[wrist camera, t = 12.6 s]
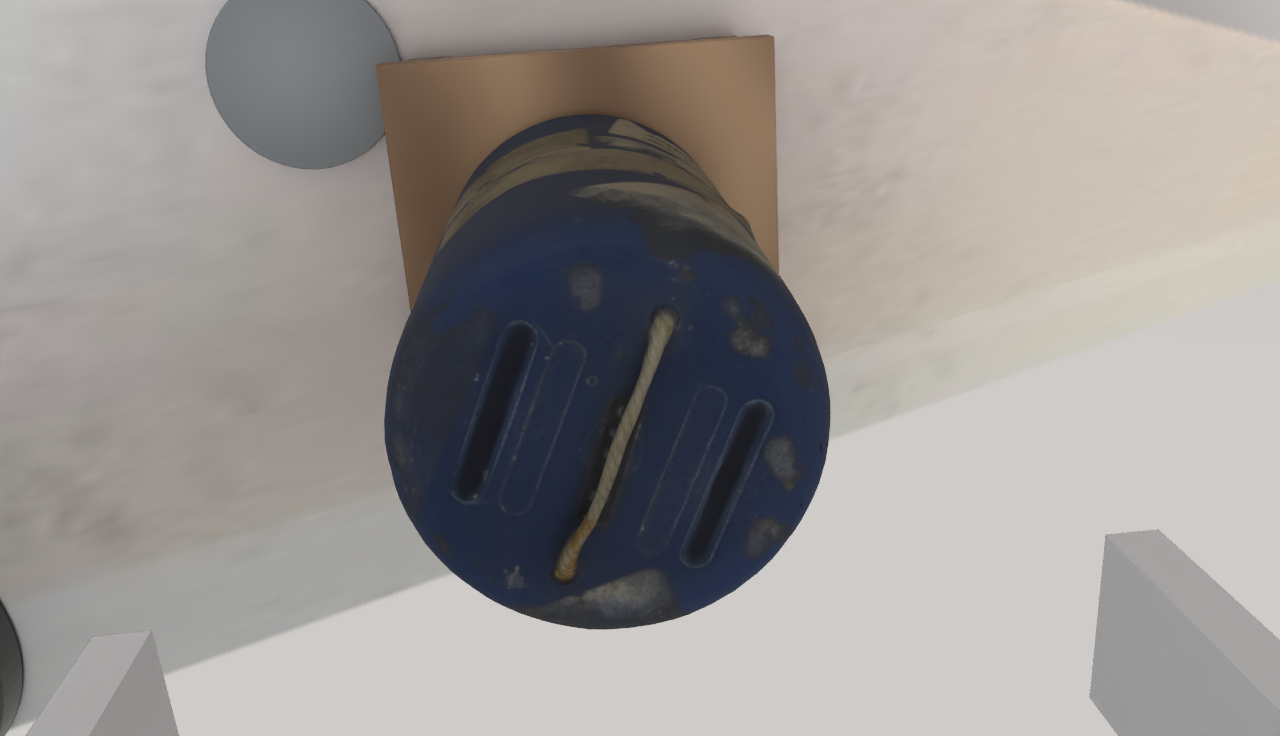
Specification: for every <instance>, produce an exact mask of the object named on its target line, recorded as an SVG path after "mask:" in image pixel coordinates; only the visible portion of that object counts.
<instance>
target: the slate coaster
mask: <svg viewBox="0 0 1280 736" xmlns="http://www.w3.org/2000/svg"><path fill="white" fill-rule="evenodd" d="M396 61H400V58H399V53H398V50H397V47H396V44H395V41H394V39H393V37H392V35H391V33H390V30H389V29H388V27H387V25H386V24H385V22H384V21H383V19H382V18H381V16H380V15H379V14H378V13H377V12H376V10H375V9H374V8H373V7H372V6H371V5H370V4H369V3H368V2H367V1H366V0H229V1H228V2H227V3H226V5H225V6H224V7H223V8H222V10H221V11H220V13H219V14H218V16H217V18H216V19H215V22H214V24H213V26H212V28H211V31H210V34H209V38H208V42H207V48H206V75H207V82H208V86H209V90H210V93H211V96H212V99H213V101H214V104H215V106H216V108H217V110H218V111H219V113H220V115H221V117H222V119H223V120H224V121H225V123H226V124H227V126H228V127H229V128H230V129H231V131H232V132H233V133H234V134H235V135H236V136H237V137H238V138H239V139H240V140H241V141H242V142H243V143H245V144H246V145H247V146H248V147H249V148H251V149H252V150H254V151H255V152H257V153H258V154H260V155H262V156H264V157H266V158H267V159H269V160H272V161H274V162H277V163H279V164H282V165H286V166H290V167H294V168H302V169H323V168H330V167H334V166H338V165H341V164H344V163H346V162H349V161H351V160H353V159H355V158H357V157H358V156H360V155H362V154H363V153H365V152H366V151H367V150H368V149H370V148H371V147H372V146H373V145H374V144H375V143H376V142H377V141H378V140H379V139H380V138H381V137H382V135H383V134H384V133H385V129H384V122H383V115H382V108H381V101H380V94H379V87H378V80H377V73H376V65H377V64H379V63H382V62H396Z"/></svg>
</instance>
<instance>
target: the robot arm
mask: <svg viewBox="0 0 1280 736" xmlns="http://www.w3.org/2000/svg"><path fill="white" fill-rule="evenodd" d="M22 675H23V672H22V661H21V655H20V650H19V647H18V643H17V639H16V637H15V634H14V631H13V629H12V626H11V624H10V622H9V620H8V618H7V616H6V614H5V612H4V611H3V609H2V607H1V606H0V736H5V734H6V733H7V731H8V730H9V728H10V726H11V724H12V722H13V720H14V717H15V715H16V712H17V709H18V706H19V702H20V697H21V692H22ZM1090 699H1091V700H1092V701H1093V703H1094V704H1095V705H1096V707H1097V708H1098V709H1099V711H1100V712H1101V713H1102V715H1103V716H1104V717H1105V719H1106V720H1107V721H1108V723H1109V724H1110V725H1111V727H1112V728H1113V729H1114V731H1115V732H1116V733H1117V735H1118V736H1280V640H1279V639H1278V638H1277V637H1276V636H1275V635H1274V634H1273V633H1271V632H1270V631H1269V630H1268V629H1267V628H1266V627H1265V626H1264V625H1263V624H1262V623H1260V622H1259V621H1258V620H1257V619H1256V618H1255V617H1254V616H1253V615H1252V614H1251V613H1249V612H1248V611H1247V610H1246V609H1245V608H1244V607H1243V606H1242V605H1241V604H1239V602H1237V601H1236V600H1235V599H1234V598H1233V597H1232V596H1231V595H1230V594H1229V593H1228V592H1227V591H1225V590H1224V589H1223V588H1222V587H1221V586H1220V585H1219V584H1218V583H1217V582H1216V581H1214V580H1213V579H1212V578H1211V577H1210V576H1209V575H1208V574H1207V573H1206V572H1205V571H1204V570H1202V569H1201V568H1200V567H1199V566H1198V565H1197V564H1196V563H1195V562H1194V561H1193V560H1191V559H1190V558H1189V557H1188V556H1187V555H1186V554H1185V553H1184V552H1183V551H1182V550H1180V549H1179V548H1178V547H1177V546H1176V545H1175V544H1174V543H1173V542H1172V541H1171V540H1169V539H1168V538H1167V537H1166V536H1165V535H1164V534H1163V533H1162V532H1161V531H1160V530H1148V531H1138V532H1128V533H1118V534H1108V535H1106V536H1105V547H1104V557H1103V567H1102V577H1101V587H1100V597H1099V607H1098V618H1097V628H1096V639H1095V649H1094V658H1093V668H1092V679H1091V689H1090ZM26 736H179V734H178V730H177V727H176V723H175V719H174V715H173V711H172V707H171V704H170V700H169V696H168V692H167V689H166V685H165V680H164V677H163V673H162V669H161V665H160V661H159V657H158V654H157V650H156V646H155V642H154V638H153V634H152V631H151V630H150V631H140V632H130V633H120V634H110V635H100V636H93V637H92V638H91V640H90V641H89V643H88V644H87V645H86V647H85V648H84V650H83V651H82V653H81V654H80V656H79V657H78V659H77V660H76V662H75V663H74V665H73V666H72V668H71V669H70V671H69V672H68V674H67V675H66V677H65V678H64V680H63V681H62V682H61V684H60V685H59V687H58V688H57V690H56V691H55V693H54V694H53V696H52V697H51V699H50V700H49V702H48V703H47V705H46V706H45V708H44V709H43V711H42V712H41V714H40V715H39V717H38V718H37V720H36V721H35V722H34V724H33V725H32V727H31V728H30V730H29V731H28V733H27V734H26Z"/></svg>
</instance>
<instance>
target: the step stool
mask: <svg viewBox="0 0 1280 736" xmlns="http://www.w3.org/2000/svg"><path fill="white" fill-rule="evenodd" d="M376 73H377V80H378V87H379V94H380V101H381V108H382V115H383V122H384V129H385V136H386V143H387V149H388V156H389V163H390V170H391V177H392V184H393V191H394V198H395V205H396V212H397V219H398V226H399V233H400V239H401V246H402V253H403V260H404V267H405V274H406V281H407V288H408V295H409V302H410V309H411V311H412V309H413V307H414V304H415V301H416V299H417V296H418V294H419V291H420V289H421V286H422V284H423V282H424V279H425V277H426V275H427V272H428V269H429V267H430V264H431V262H432V259H433V256H434V254H435V251H436V249H437V247H438V244H439V242H440V240H441V237H442V235H443V232H444V230H445V227H446V225H447V223H448V221H449V219H450V216H451V214H452V212H453V209H454V207H455V205H456V202H457V200H458V198H459V196H460V194H461V192H462V190H463V188H464V187H465V185H466V183H467V181H468V180H469V178H470V177H471V175H472V174H473V172H474V171H475V170H476V168H477V167H478V166H479V165H480V164H481V162H482V161H483V160H484V159H485V158H486V157H487V156H488V155H489V154H490V153H491V152H493V151H494V150H495V149H496V148H497V147H498V146H499V145H501V144H502V143H503V142H505V141H506V140H508V139H509V138H511V137H512V136H514V135H516V134H517V133H519V132H521V131H523V130H525V129H527V128H529V127H531V126H534V125H536V124H539V123H542V122H545V121H548V120H551V119H555V118H559V117H565V116H572V115H587V114H595V115H606V116H613V117H619V118H623V119H627V120H631V121H634V122H637V123H639V124H642V125H644V126H647V127H649V128H651V129H653V130H655V131H657V132H659V133H661V134H662V135H664V136H666V137H667V138H669V139H670V140H671V141H673V142H674V143H676V144H677V145H678V146H679V147H681V148H682V149H683V150H684V151H685V152H686V153H688V154H689V155H690V156H691V158H692V159H693V160H694V161H695V162H696V163H697V164H698V165H699V166H700V167H701V169H702V170H703V171H704V172H705V174H706V175H707V176H708V177H709V179H710V180H711V181H712V182H713V184H714V185H715V187H716V188H717V190H718V191H719V193H720V194H721V195H722V197H723V198H724V200H725V201H726V202H727V204H728V205H729V206H730V207H731V208H733V209H734V210H735V211H737V212H738V213H740V214H741V215H743V216H744V217H745V218H746V219H747V220H748V221H749V224H750V227H751V229H752V232H753V234H754V237H755V240H756V242H757V244H758V246H759V247H760V249H761V250H762V251H763V253H764V254H765V255H766V257H767V258H768V260H769V261H770V262H771V264H772V265H773V267H774V268H775V270H776V271H777V273H778V274H779V266H778V214H777V163H776V112H775V61H774V37H773V36H770V35H757V36H743V37H737V36H732V37H718V38H704V39H694V40H687V41H674V42H660V43H646V44H632V45H618V46H604V47H590V48H577V49H563V50H549V51H535V52H521V53H507V54H493V55H479V56H466V57H452V58H451V57H441V58H427V59H413V60H407V61H396V62H382V63H379V64H377V65H376Z"/></svg>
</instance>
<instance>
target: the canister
mask: <svg viewBox="0 0 1280 736" xmlns="http://www.w3.org/2000/svg"><path fill="white" fill-rule="evenodd" d="M384 425H385V444H386V449H387V455H388V460H389V463H390V467H391V471H392V475H393V479H394V483H395V487H396V490H397V493H398V495H399V498H400V500H401V502H402V505H403V507H404V509H405V511H406V513H407V515H408V516H409V518H410V520H411V521H412V523H413V524H414V526H415V528H416V529H417V531H418V533H419V534H420V536H421V537H422V539H423V541H424V542H425V543H426V545H427V546H428V547H429V548H430V549H431V550H432V552H433V553H434V554H435V555H436V556H437V557H438V558H439V559H440V561H441V562H443V563H444V564H445V565H446V566H447V567H448V568H449V569H450V570H451V571H452V572H453V573H454V574H455V575H457V576H458V577H460V578H461V579H462V580H463V581H465V582H466V583H467V584H469V585H470V586H471V587H473V588H474V589H476V590H477V591H479V592H480V593H482V594H483V595H485V596H486V597H488V598H490V599H491V600H493V601H495V602H497V603H499V604H501V605H503V606H505V607H507V608H510V609H512V610H514V611H517V612H519V613H521V614H524V615H527V616H530V617H533V618H536V619H540V620H543V621H547V622H551V623H555V624H560V625H565V626H570V627H577V628H585V629H618V628H631V627H637V626H645V625H651V624H656V623H660V622H664V621H668V620H673V619H676V618H679V617H682V616H685V615H688V614H691V613H692V612H695V611H697V610H699V609H701V608H704V607H706V606H708V605H710V604H712V603H714V602H716V601H717V600H719V599H721V598H722V597H724V596H726V595H727V594H729V593H731V592H733V591H735V590H736V589H737V588H738V587H740V586H741V585H742V584H743V583H745V582H746V581H747V580H749V579H750V578H751V577H753V576H754V575H755V574H757V573H758V572H759V571H760V570H761V569H762V568H763V567H764V566H765V565H766V564H767V563H768V562H769V561H770V560H771V559H772V558H773V557H774V556H775V555H776V554H777V552H778V551H779V550H780V548H781V547H782V546H783V545H784V543H785V542H786V541H787V539H788V538H789V537H790V536H791V534H792V533H793V532H794V530H795V529H796V527H797V526H798V524H799V523H800V521H801V519H802V517H803V516H804V514H805V512H806V510H807V508H808V506H809V504H810V502H811V500H812V498H813V496H814V494H815V491H816V489H817V487H818V484H819V481H820V478H821V474H822V471H823V467H824V464H825V460H826V454H827V447H828V440H829V429H830V397H829V388H828V383H827V377H826V372H825V368H824V364H823V361H822V358H821V355H820V352H819V349H818V346H817V343H816V340H815V337H814V335H813V332H812V330H811V328H810V326H809V324H808V322H807V320H806V318H805V316H804V314H803V313H802V311H801V309H800V307H799V306H798V304H797V302H796V301H795V299H794V297H793V296H792V294H791V293H790V291H789V289H788V288H787V286H786V285H785V283H784V282H783V280H782V279H781V277H780V276H779V274H778V273H777V271H776V270H775V268H774V267H773V265H772V264H771V262H770V261H769V260H768V258H767V257H766V255H765V254H764V253H763V251H762V250H761V249H760V247H759V246H758V244H757V242H756V240H755V237H754V234H753V232H752V229H751V227H750V224H749V221H748V220H747V219H746V218H745V217H744V216H743V215H741V214H740V213H738V212H737V211H735V210H734V209H733V208H731V207H730V206H729V205H728V204H727V202H726V201H725V200H724V198H723V197H722V195H721V194H720V193H719V191H718V190H717V188H716V187H715V185H714V184H713V182H712V181H711V180H710V179H709V177H708V176H707V175H706V174H705V172H704V171H703V170H702V169H701V167H700V166H699V165H698V164H697V163H696V162H695V161H694V160H693V159H692V158H691V156H690V155H689V154H688V153H686V152H685V151H684V150H683V149H682V148H681V147H679V146H678V145H677V144H676V143H674V142H673V141H671V140H670V139H669V138H667V137H666V136H664V135H662V134H661V133H659V132H657V131H655V130H653V129H651V128H649V127H647V126H644V125H642V124H639V123H637V122H634V121H631V120H627V119H623V118H619V117H613V116H606V115H595V114H587V115H572V116H565V117H559V118H555V119H551V120H548V121H545V122H542V123H539V124H536V125H534V126H531V127H529V128H527V129H525V130H523V131H521V132H519V133H517V134H516V135H514V136H512V137H511V138H509V139H508V140H506V141H505V142H503V143H502V144H501V145H499V146H498V147H497V148H496V149H495V150H494V151H493V152H491V153H490V154H489V155H488V156H487V157H486V158H485V159H484V160H483V161H482V162H481V164H480V165H479V166H478V167H477V168H476V170H475V171H474V172H473V174H472V175H471V177H470V178H469V180H468V181H467V183H466V185H465V187H464V188H463V190H462V192H461V194H460V196H459V198H458V200H457V202H456V205H455V207H454V209H453V212H452V214H451V216H450V219H449V221H448V223H447V225H446V227H445V230H444V232H443V235H442V237H441V240H440V242H439V244H438V247H437V249H436V251H435V254H434V256H433V259H432V262H431V264H430V267H429V269H428V272H427V275H426V277H425V279H424V282H423V284H422V286H421V289H420V291H419V294H418V296H417V299H416V301H415V304H414V307H413V309H412V311H411V314H410V316H409V318H408V320H407V322H406V325H405V328H404V330H403V333H402V336H401V338H400V341H399V343H398V346H397V349H396V353H395V356H394V359H393V363H392V367H391V371H390V376H389V381H388V387H387V396H386V407H385V419H384Z"/></svg>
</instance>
